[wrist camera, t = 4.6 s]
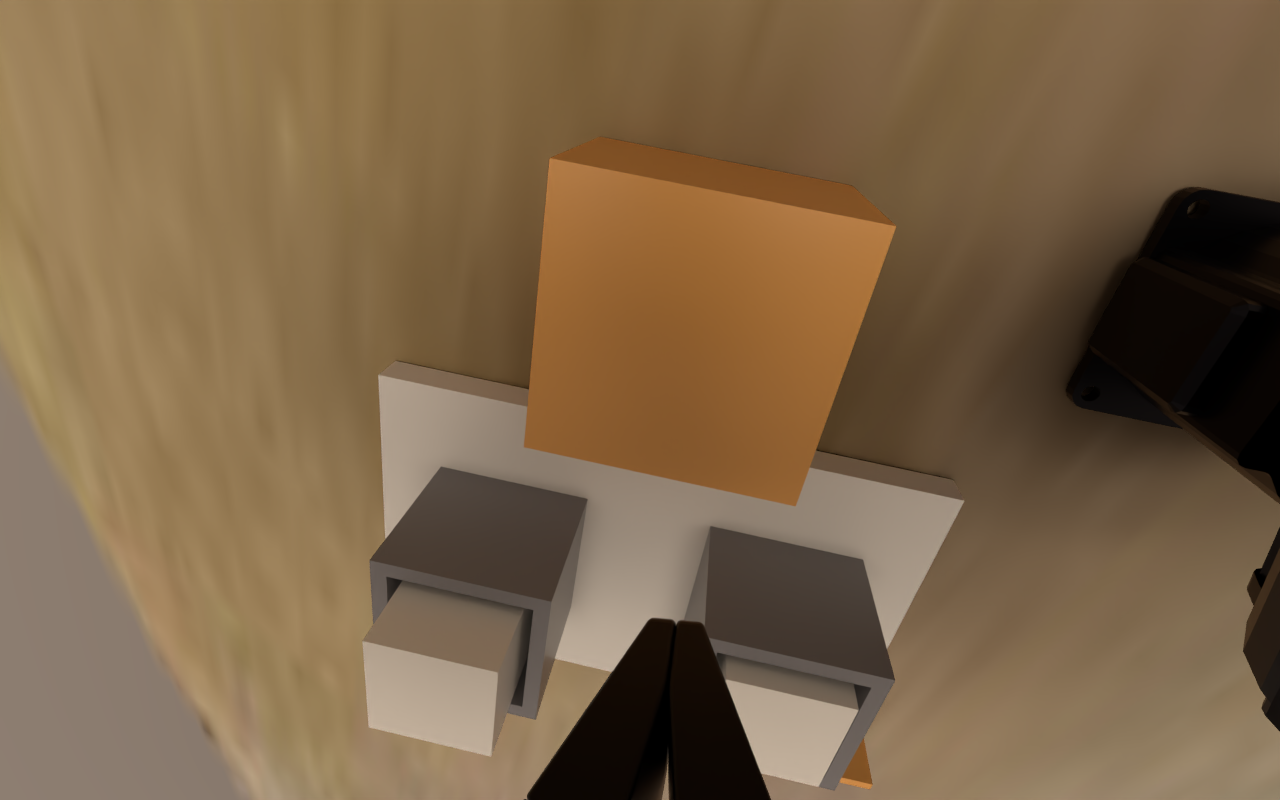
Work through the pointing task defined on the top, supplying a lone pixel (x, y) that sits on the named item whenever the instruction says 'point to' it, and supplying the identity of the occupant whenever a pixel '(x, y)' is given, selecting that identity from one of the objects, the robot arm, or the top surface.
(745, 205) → the cap
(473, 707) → the block
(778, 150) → the top surface
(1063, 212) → the top surface
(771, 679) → the block
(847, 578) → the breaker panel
